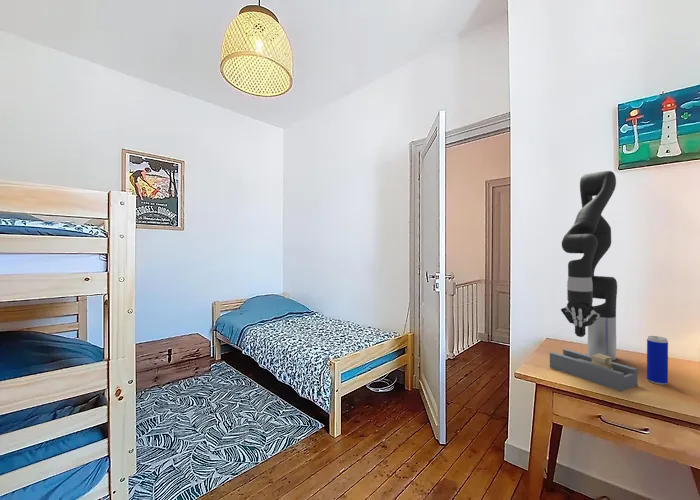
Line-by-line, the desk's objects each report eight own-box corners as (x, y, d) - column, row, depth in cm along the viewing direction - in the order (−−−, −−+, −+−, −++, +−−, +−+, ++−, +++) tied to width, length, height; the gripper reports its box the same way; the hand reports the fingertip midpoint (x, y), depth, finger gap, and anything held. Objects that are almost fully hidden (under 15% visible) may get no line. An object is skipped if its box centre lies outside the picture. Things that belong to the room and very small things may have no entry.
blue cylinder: (671, 385, 107) (672, 340, 107) (653, 384, 108) (653, 339, 108) (660, 379, 112) (660, 335, 112) (643, 378, 114) (643, 335, 113)
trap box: (566, 362, 129) (566, 348, 129) (637, 385, 108) (637, 368, 108) (549, 367, 125) (549, 352, 125) (620, 391, 104) (620, 374, 104)
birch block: (598, 365, 116) (598, 353, 116) (611, 368, 112) (611, 357, 112) (591, 366, 114) (591, 355, 114) (604, 370, 110) (604, 359, 110)
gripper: (606, 290, 114) (606, 339, 115) (567, 285, 126) (568, 330, 127) (593, 292, 111) (593, 343, 112) (555, 287, 123) (555, 333, 124)
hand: (580, 336), depth 119 cm, fingers closed
